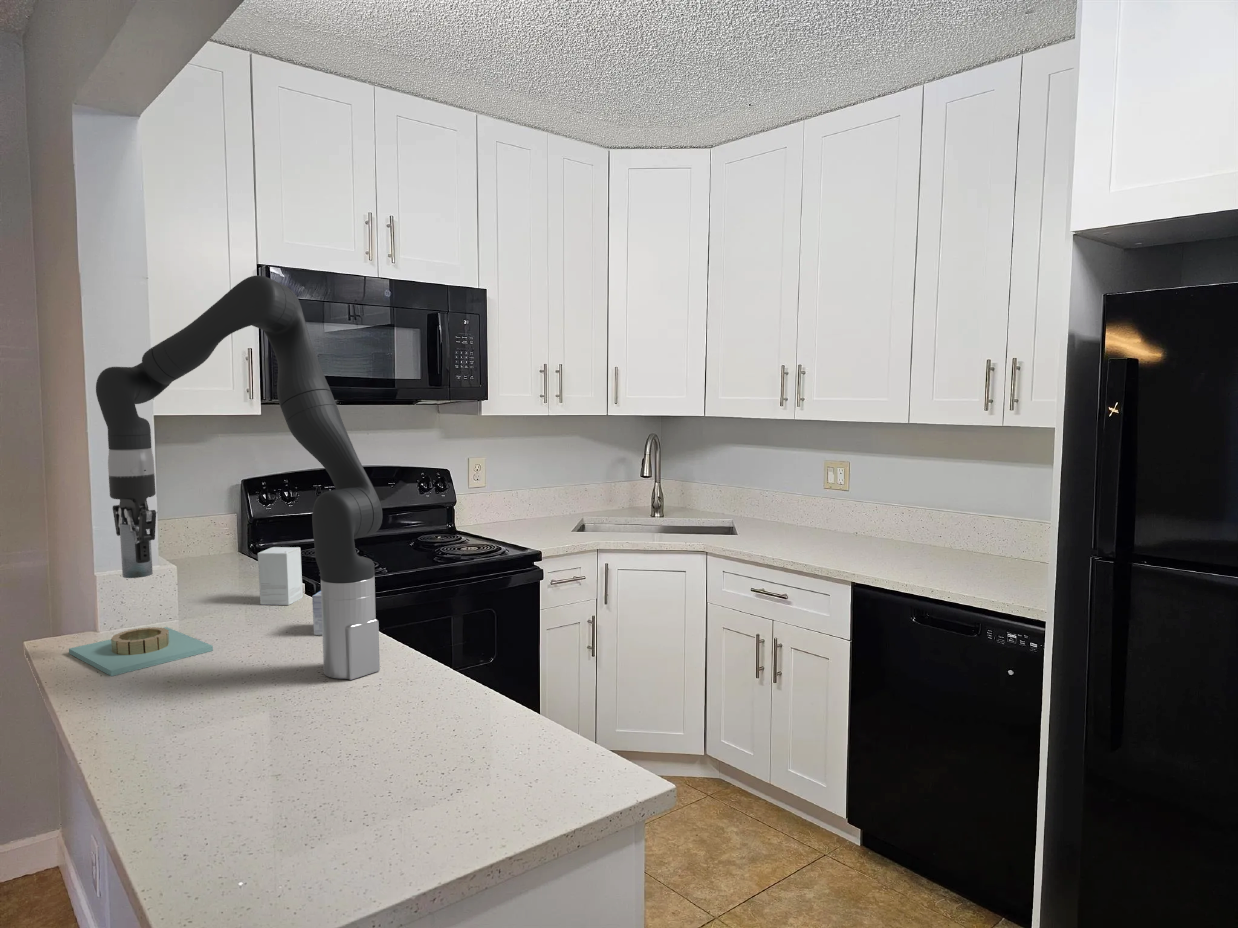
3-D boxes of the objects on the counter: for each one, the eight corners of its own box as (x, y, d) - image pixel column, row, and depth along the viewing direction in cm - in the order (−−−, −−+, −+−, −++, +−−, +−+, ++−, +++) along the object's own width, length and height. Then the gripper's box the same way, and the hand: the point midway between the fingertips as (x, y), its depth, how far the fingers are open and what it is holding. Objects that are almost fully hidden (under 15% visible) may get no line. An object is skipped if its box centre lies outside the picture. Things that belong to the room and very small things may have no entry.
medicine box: (334, 635, 169) (333, 594, 168) (313, 635, 169) (311, 594, 168) (347, 624, 177) (346, 585, 176) (327, 624, 177) (326, 585, 176)
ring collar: (177, 645, 159) (176, 633, 159) (124, 658, 152) (124, 645, 152) (156, 636, 165) (155, 624, 165) (104, 648, 158) (103, 635, 157)
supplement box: (303, 597, 199) (302, 546, 198) (288, 605, 192) (286, 552, 191) (275, 596, 200) (273, 546, 199) (258, 604, 193) (256, 552, 192)
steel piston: (157, 574, 157) (154, 523, 157) (129, 579, 154) (126, 526, 153) (146, 570, 161) (143, 520, 160) (118, 575, 157) (115, 524, 156)
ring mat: (212, 650, 159) (212, 645, 159) (111, 676, 145) (110, 670, 145) (166, 631, 172) (166, 626, 172) (69, 653, 158) (68, 648, 157)
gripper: (169, 473, 154) (174, 562, 155) (137, 468, 162) (141, 552, 164) (126, 476, 148) (131, 569, 149) (94, 471, 157) (100, 558, 158)
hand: (136, 560), depth 157 cm, fingers closed on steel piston, 5 cm apart
